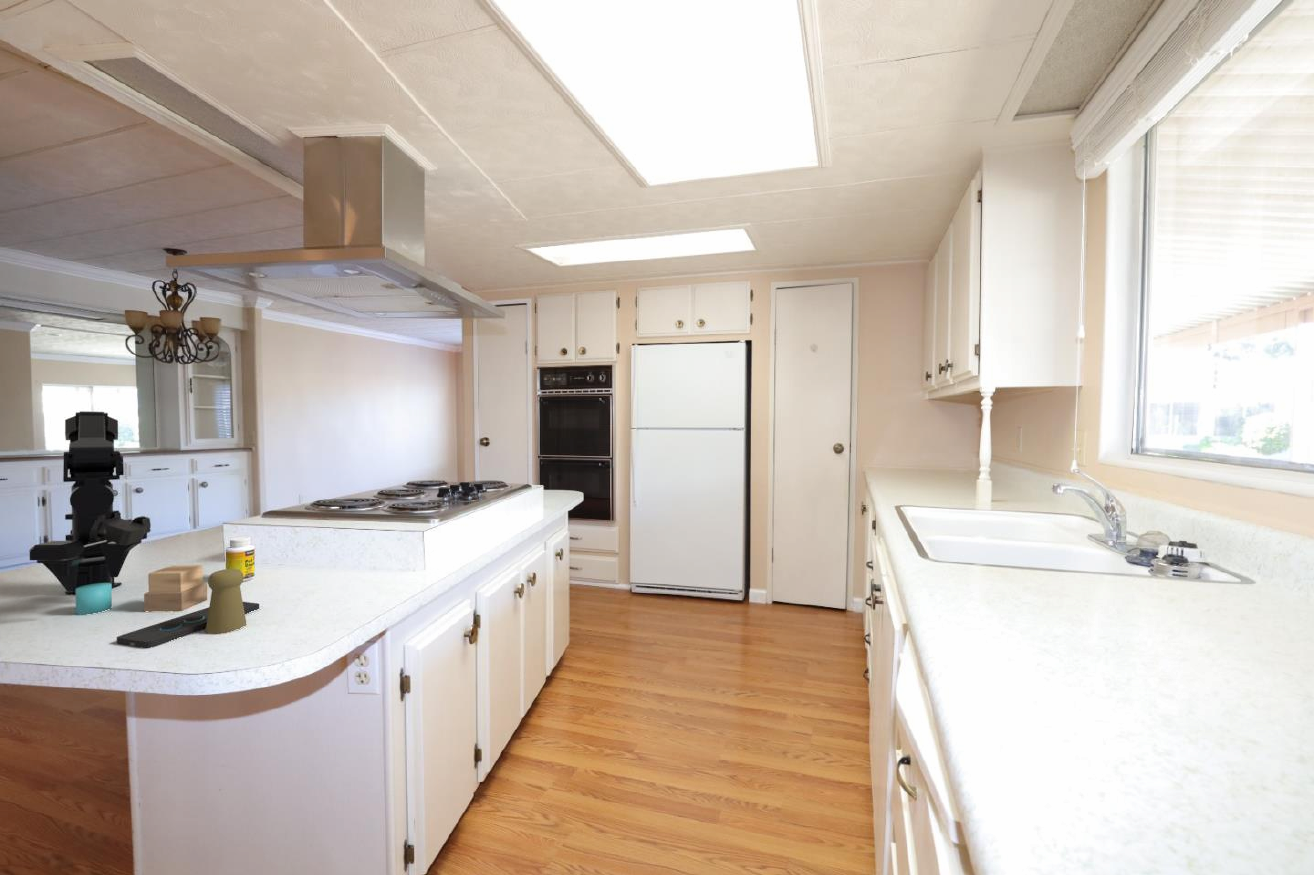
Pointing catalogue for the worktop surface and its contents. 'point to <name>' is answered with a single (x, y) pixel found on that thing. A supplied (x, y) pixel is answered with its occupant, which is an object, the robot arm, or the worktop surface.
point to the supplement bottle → (241, 556)
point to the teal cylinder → (93, 598)
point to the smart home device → (172, 628)
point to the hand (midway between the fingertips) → (93, 583)
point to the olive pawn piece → (225, 602)
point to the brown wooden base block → (175, 599)
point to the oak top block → (175, 578)
